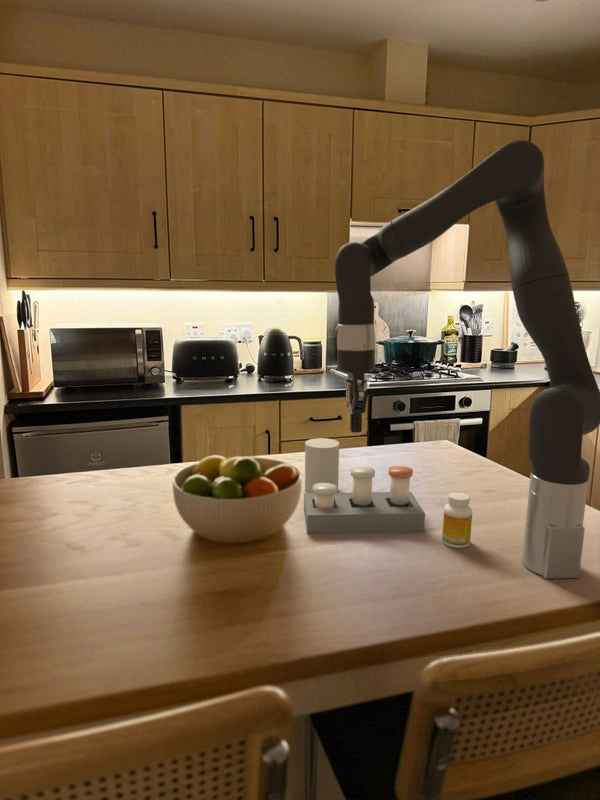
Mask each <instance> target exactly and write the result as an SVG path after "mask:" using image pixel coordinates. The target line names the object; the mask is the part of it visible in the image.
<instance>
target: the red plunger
mask: <svg viewBox="0 0 600 800" xmlns="http://www.w3.org/2000/svg"><path fill="white" fill-rule="evenodd" d="M413 472H414V471H413V469H412V468H411V467H409V466H404V465H393V466H389V468H388V476H390V483H389V484H390V485H389V488H390V489H389V492H390V502H391V503H394V504H398V505H404V504H407V503H409V492H410V487H411V483H410V482H411V477H413V474H414V473H413Z"/></svg>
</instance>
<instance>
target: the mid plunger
mask: <svg viewBox="0 0 600 800" xmlns="http://www.w3.org/2000/svg"><path fill="white" fill-rule="evenodd" d="M350 476H351V477H352V492H353V503H355V504H357V505H368V504H371V500H372V492H373V478H374V477H375V476H376V470H375V469H374V468H373V467H370V466H362V465H361V466H354V467H352V468H351V469H350Z"/></svg>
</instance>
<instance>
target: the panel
mask: <svg viewBox="0 0 600 800" xmlns="http://www.w3.org/2000/svg"><path fill="white" fill-rule="evenodd" d="M303 514H304V520H305V526H306V528H305V529H306V534H308V535H309V534H313V535H314V534H358V533H359V534H360V533H363V534H364V533H365V534H367V533H368V534H369V533H373V534H374V533H419V532H421V533H425V522H426V512H425V511H424V510H423V507H421V505H420V503H419V501H418V500H417V499H416V497H415V496H414V494H413V493H412V491H409V503H407V504H404V505H398V504H394V503H391V502H390V491H378V492H377V491H376V492H375V491H374V492H373V491H372V500H371V504H368V505H357V504H355V503H353V491H352V492H337V493H336V494H334V508H315V494H314V493H306V492H304V493H303Z"/></svg>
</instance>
